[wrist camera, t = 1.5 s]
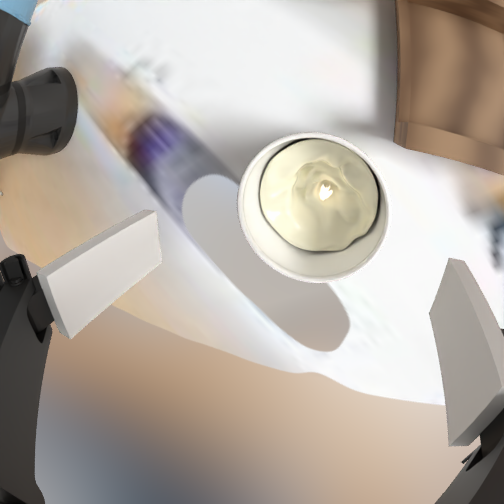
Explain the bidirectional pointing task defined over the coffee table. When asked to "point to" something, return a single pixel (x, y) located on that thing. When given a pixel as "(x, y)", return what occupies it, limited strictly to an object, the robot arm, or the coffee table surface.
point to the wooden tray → (451, 80)
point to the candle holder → (314, 207)
